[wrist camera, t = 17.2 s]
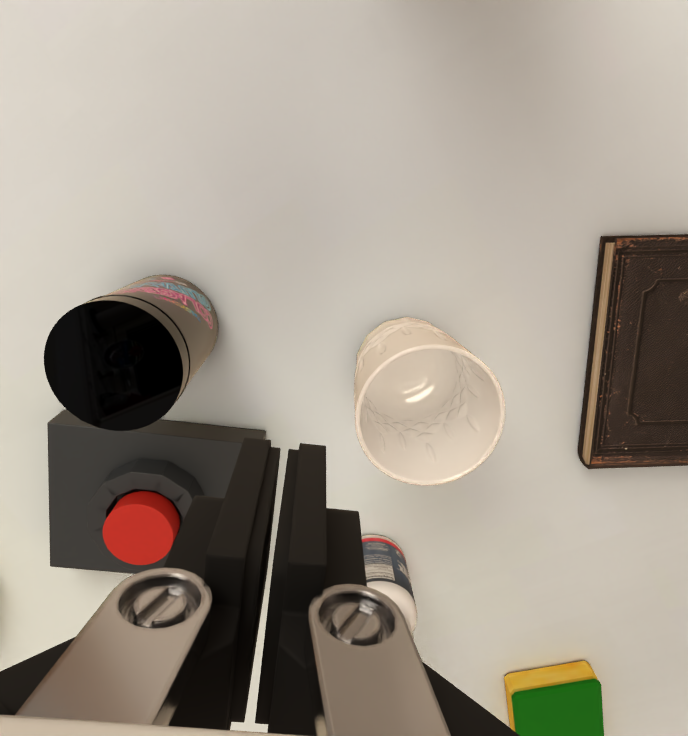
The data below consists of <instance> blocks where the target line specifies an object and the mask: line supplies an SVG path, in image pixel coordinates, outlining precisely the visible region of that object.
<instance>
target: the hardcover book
mask: <svg viewBox="0 0 688 736" xmlns="http://www.w3.org/2000/svg"><path fill="white" fill-rule="evenodd" d="M578 454H579V458H580V461H581V462H582V463H583V465H584V466H586V467H587V468H588V469H599V468H628V467H656V466H685V465H688V234H684V235H642V236H601V240H600V249H599V258H598V268H597V277H596V286H595V296H594V305H593V314H592V324H591V333H590V342H589V352H588V361H587V370H586V380H585V389H584V398H583V408H582V417H581V426H580V436H579V445H578Z"/></svg>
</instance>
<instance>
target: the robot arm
mask: <svg viewBox="0 0 688 736" xmlns="http://www.w3.org/2000/svg"><path fill="white" fill-rule="evenodd" d="M279 459H280V448H274V447H271V440H265V439H255V438H246V437H245V438H244V440H243V443H242V447H241V450H240V453H239V456H238V459H237V462H236V465H235V468H234V471H233V474H232V477H231V480H230V483H229V486H228V489H227V492H226V495H225V498H218V497H208V496H198V495H196V496H195V497H194V498H193V500H192V502H191V505H190V507H189V509H188V512H187V514H186V516H185V519H184V521H183V523H182V525H181V528H180V530H179V532H178V535H177V537H176V539H175V542H174V544H173V546H172V548H171V551H170V553H169V555H168V558H167V560H166V562H165V565H164V567H163V568H157V569H149V570H146V571H143V572H140V573H136V574H134V575H132V576H130V577H129V578H127V579H125V580H123V581H122V582H121V583H120V584H119V585H118V586H117V587H115V588H114V589H113V590H112V592H111V593H110V594H109V595H108V597H107V598H106V599H105V601H104V602H103V603H102V604H101V606H100V607H99V608H98V609H97V611H96V612H95V613H94V615H93V616H92V617H91V618H90V620H89V621H88V622H87V623H86V625H85V626H84V627H83V629H82V630H81V631H80V632H79V634H78V635H77V636H76V637H74V638H72V639H70V640H68V641H66V642H64V643H61V644H59V645H57V646H55V647H53V648H51V649H48V650H46V651H44V652H42V653H40V654H38V655H35V656H33V657H31V658H29V659H27V660H24V661H22V662H20V663H18V664H16V665H14V666H11V667H9V668H7V669H5V670H3V671H1V672H0V736H520V735H519V734H517V733H516V732H515V731H513V730H512V729H511V728H509V727H508V726H507V725H505V724H504V723H503V722H501V721H500V720H499V719H497V718H496V717H495V716H494V715H492V714H491V713H490V712H488V711H487V710H486V709H484V708H483V707H482V706H480V705H479V704H478V703H476V702H475V701H474V700H472V699H471V698H470V697H468V696H467V695H466V694H464V693H463V692H462V691H460V690H459V689H458V688H456V687H455V686H454V685H453V684H451V683H450V682H449V681H447V680H446V679H445V678H443V677H442V676H441V675H439V674H438V673H437V672H435V671H434V670H433V669H431V668H430V667H429V666H427V665H426V664H425V663H423V662H422V661H421V658H420V655H419V653H418V650H417V648H416V645H415V643H414V640H413V638H412V635H411V632H410V630H409V627H408V625H407V622H406V620H405V617H404V615H403V613H402V612H401V610H400V608H399V607H398V605H397V604H396V603H395V602H394V601H393V600H392V599H390V598H389V597H388V596H387V595H385V594H383V593H381V592H379V591H378V590H376V589H373V588H370V587H367V582H366V572H365V563H364V554H363V545H362V536H361V527H360V518H359V512H358V511H349V510H339V509H329V508H326V446H321V445H312V444H302V443H300V446H299V450H293V449H289V451H288V459H287V466H286V473H285V480H284V487H283V494H282V502H281V509H280V516H279V523H278V530H277V537H276V545H275V552H274V560H273V568H272V576H271V585H270V594H269V603H268V612H267V621H266V630H265V639H264V647H263V656H262V665H261V674H260V683H259V692H258V701H257V710H256V719H255V723H259V724H268V733H261V732H247V731H233V730H230V726H231V722H244V720H245V714H246V708H247V701H248V694H249V688H250V681H251V675H252V668H253V661H254V655H255V648H256V642H257V635H258V628H259V622H260V615H261V609H262V602H263V595H264V589H265V582H266V575H267V568H268V559H269V550H270V541H271V532H272V523H273V514H274V504H275V495H276V486H277V477H278V468H279Z"/></svg>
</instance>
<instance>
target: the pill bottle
mask: <svg viewBox="0 0 688 736" xmlns="http://www.w3.org/2000/svg"><path fill="white" fill-rule="evenodd" d="M362 545H363V554H364V563H365V572H366V582H367V587H370V588H373V589H376V590H378V591H379V592H381V593H383V594H385V595H387V596H388V597H389V598H390V599H392V600H393V601H394V602H395V603H396V604H397V605H398V607H399V608H400V610H401V612H402V613H403V615H404V617H405V620H406V622H407V625H408V627H409V630H410V632H411V635H412V638H413V631H414V628H415V626H416V621H417V610H416V604H415V600H414V596H413V592H412V587H411V582H410V578H409V574H408V570H407V565H406V560H405V557H404V554H403V552H402V550H401V549H400V547H399V546H398V545H397V544H396V543H395V542H394V541H392V540H391V539H389V538H387V537H384V536H380V535H365V536H362ZM413 640H414V639H413Z"/></svg>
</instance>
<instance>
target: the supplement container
mask: <svg viewBox="0 0 688 736" xmlns="http://www.w3.org/2000/svg"><path fill="white" fill-rule="evenodd" d="M217 334H218V322H217V317H216V313H215V310H214V308H213V306H212V304H211V302H210V301H209V299H208V298H207V296H206V295H205V294H204V293H203V292H202V291H201V290H200V289H199V288H198V287H196V286H195V285H194V284H192V283H191V282H189V281H187V280H185V279H182V278H179V277H176V276H171V275H154V276H149V277H146V278H143V279H141V280H139V281H136V282H134V283H132V284H129V285H127V286H125V287H123V288H120V289H118V290H116V291H113V292H111V293H109V294H107V295H104V296H100V297H97V298H94V299H92V300H90V301H88V302H86V303H84V304H82V305H80V306H78V307H75V308H74V309H72V310H70V311H69V312H67V313H66V314H65V315H63V316H62V317H61V318H60V319H59V320H58V322H57V323H56V324H55V325H54V327H53V329H52V330H51V332H50V334H49V336H48V339H47V342H46V346H45V351H44V366H45V372H46V376H47V379H48V382H49V385H50V387H51V389H52V391H53V392H54V394H55V396H56V397H57V399H58V400H59V401H60V402H61V404H62V405H63V406H64V407H65V408H66V409H67V410H68V411H69V412H71V413H72V414H73V415H74V416H76V417H77V418H79V419H80V420H82V421H84V422H86V423H88V424H90V425H93V426H95V427H98V428H101V429H106V430H112V431H130V430H136V429H139V428H143V427H145V426H148V425H150V424H152V423H154V422H156V421H157V420H159V419H160V418H161V417H163V416H164V415H165V414H166V413H167V412H168V411H169V410H170V409H171V407H172V406H173V405H174V403H175V402H176V401H177V400H178V399H179V397H180V396H181V395H182V393H183V391H184V390H185V388H186V386H187V385H188V383H189V382H190V381H191V379H192V378H193V376H194V375H195V374H196V372H197V371H198V370H199V368H200V367H201V366H202V364H203V363H204V362H205V360H206V359H207V357H208V356H209V355H210V353H211V352H212V350H213V348H214V346H215V343H216V339H217Z"/></svg>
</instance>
